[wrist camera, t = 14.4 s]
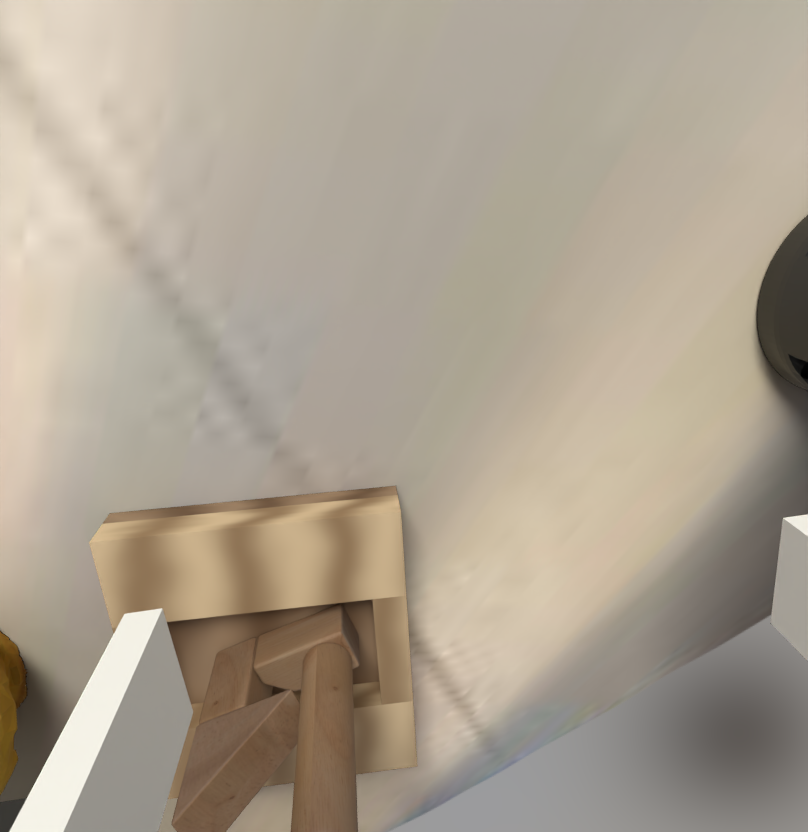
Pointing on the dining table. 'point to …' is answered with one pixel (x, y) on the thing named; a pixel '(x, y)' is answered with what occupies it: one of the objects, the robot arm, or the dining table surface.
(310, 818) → the wooden block
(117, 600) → the wooden tray
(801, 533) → the robot arm
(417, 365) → the dining table surface
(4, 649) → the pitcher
